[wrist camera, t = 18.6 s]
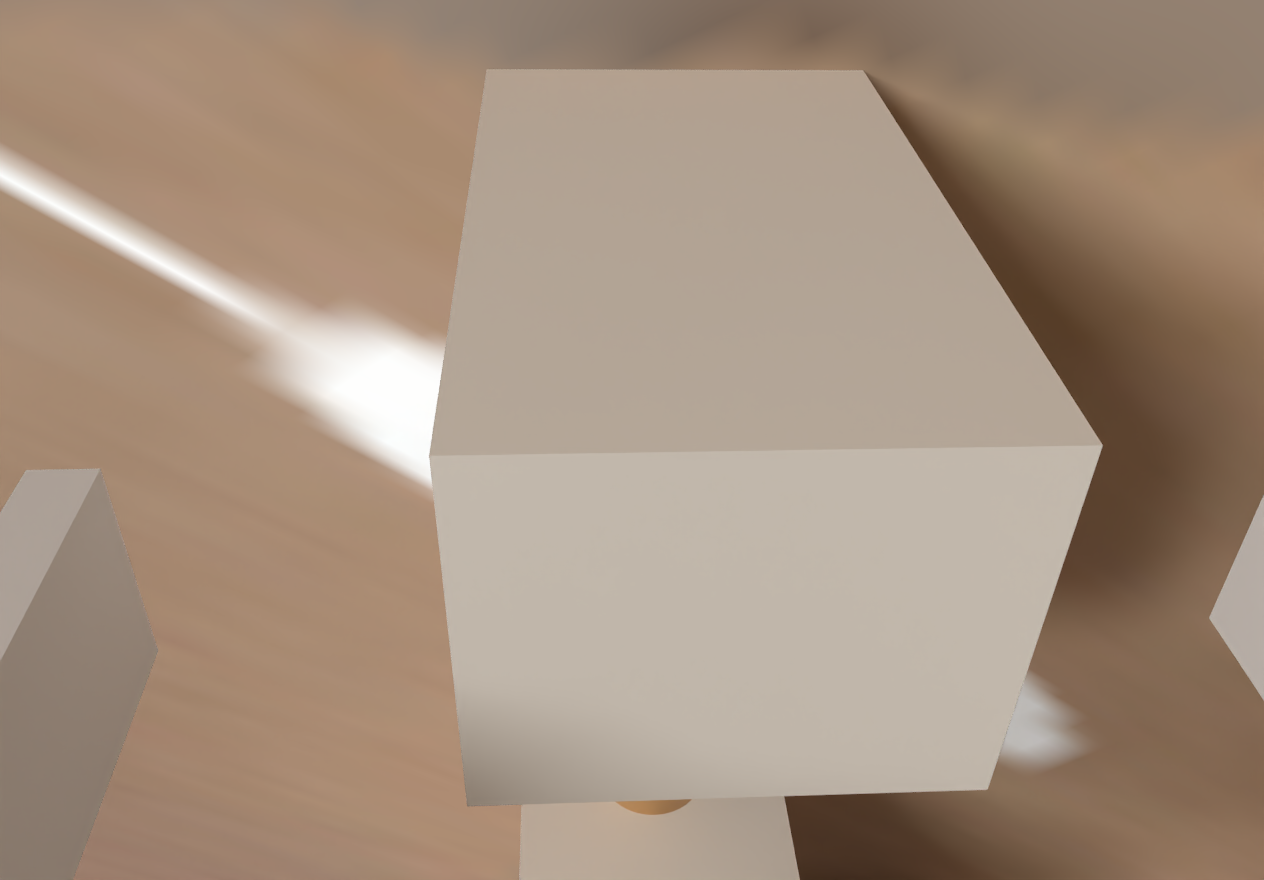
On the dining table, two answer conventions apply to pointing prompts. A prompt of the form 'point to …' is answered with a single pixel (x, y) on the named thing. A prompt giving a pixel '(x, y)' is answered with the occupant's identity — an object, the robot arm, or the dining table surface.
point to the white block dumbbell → (731, 469)
